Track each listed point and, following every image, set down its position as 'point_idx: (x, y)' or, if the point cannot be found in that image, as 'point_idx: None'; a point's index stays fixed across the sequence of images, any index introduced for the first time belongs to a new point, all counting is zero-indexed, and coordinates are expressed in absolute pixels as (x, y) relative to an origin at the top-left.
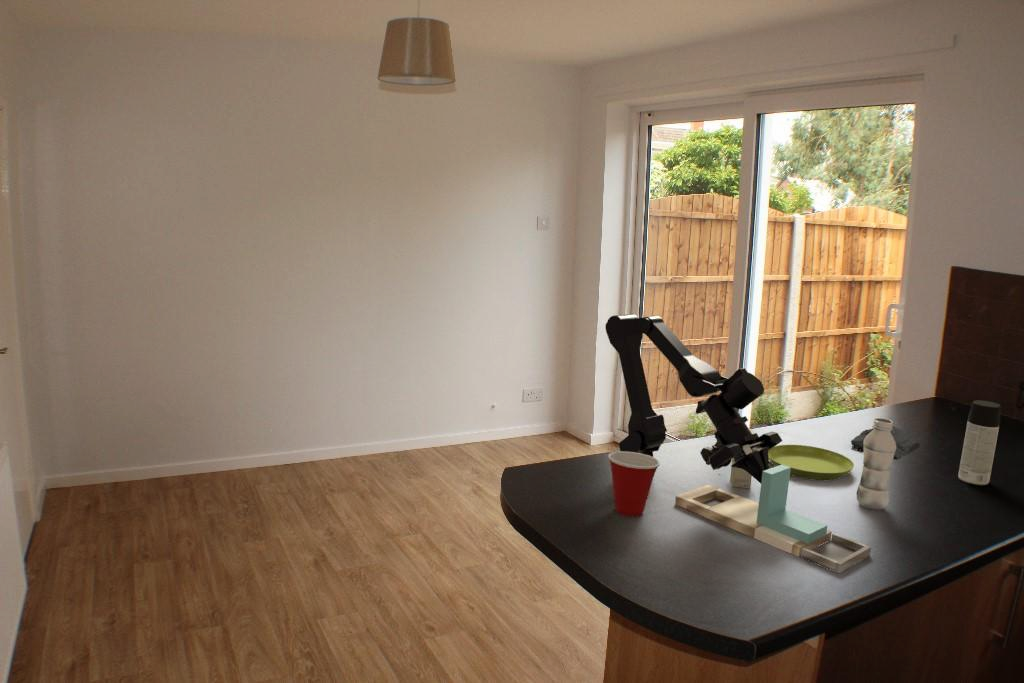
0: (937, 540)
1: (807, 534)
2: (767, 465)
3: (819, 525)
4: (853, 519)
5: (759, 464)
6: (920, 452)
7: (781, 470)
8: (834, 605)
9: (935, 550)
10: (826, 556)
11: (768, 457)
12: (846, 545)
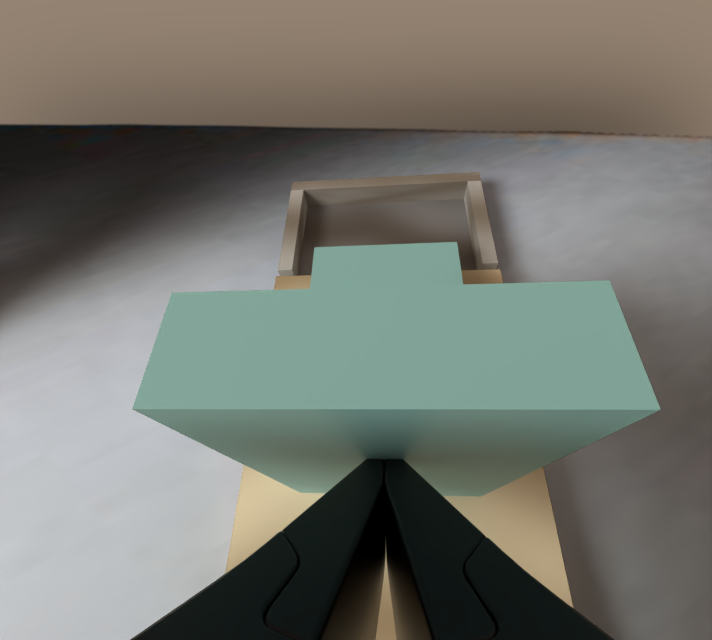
0: (77, 172)
1: (456, 248)
2: (306, 549)
3: (342, 260)
4: (46, 334)
5: (557, 599)
6: None
7: (365, 293)
8: (625, 139)
9: (144, 156)
10: (420, 242)
11: (135, 636)
12: (301, 242)
